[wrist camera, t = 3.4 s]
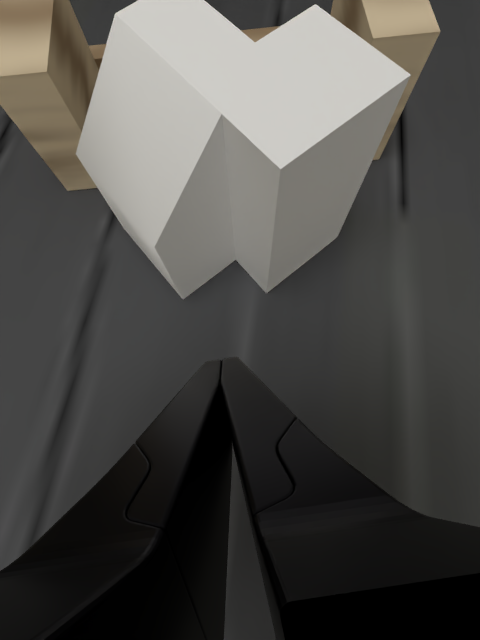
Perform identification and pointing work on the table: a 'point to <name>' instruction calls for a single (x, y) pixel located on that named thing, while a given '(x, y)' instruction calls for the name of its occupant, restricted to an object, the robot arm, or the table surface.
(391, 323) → the table surface
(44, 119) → the wooden rack
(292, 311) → the table surface
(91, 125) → the grey faceted lump
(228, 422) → the robot arm
